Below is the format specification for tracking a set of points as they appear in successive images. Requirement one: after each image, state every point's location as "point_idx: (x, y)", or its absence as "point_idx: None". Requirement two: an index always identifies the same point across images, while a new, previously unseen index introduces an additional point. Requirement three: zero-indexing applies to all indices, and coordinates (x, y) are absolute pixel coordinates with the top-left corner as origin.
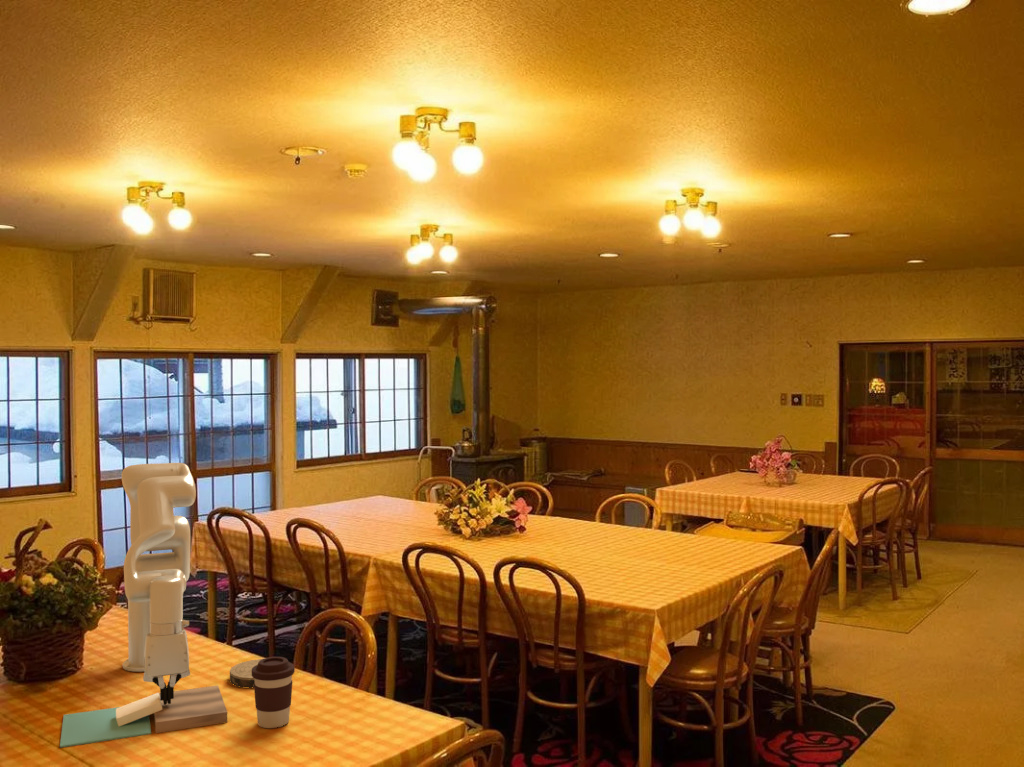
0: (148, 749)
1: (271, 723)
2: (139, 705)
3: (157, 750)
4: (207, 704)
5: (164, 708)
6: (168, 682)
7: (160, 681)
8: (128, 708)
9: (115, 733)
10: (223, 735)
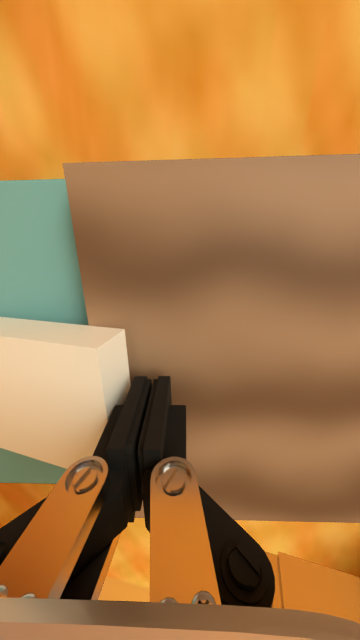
0: (116, 549)
1: None
2: (25, 413)
3: (137, 558)
4: (327, 438)
5: None
6: (145, 501)
7: (68, 597)
8: None
9: (7, 457)
10: (301, 545)
